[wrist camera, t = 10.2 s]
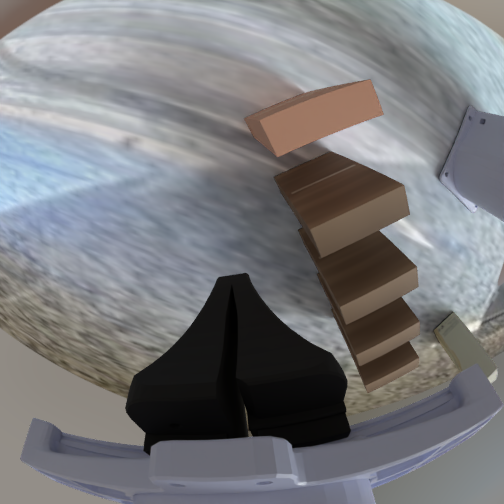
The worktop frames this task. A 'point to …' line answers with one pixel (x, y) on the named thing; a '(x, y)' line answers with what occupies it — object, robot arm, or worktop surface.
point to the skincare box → (464, 347)
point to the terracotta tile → (314, 116)
